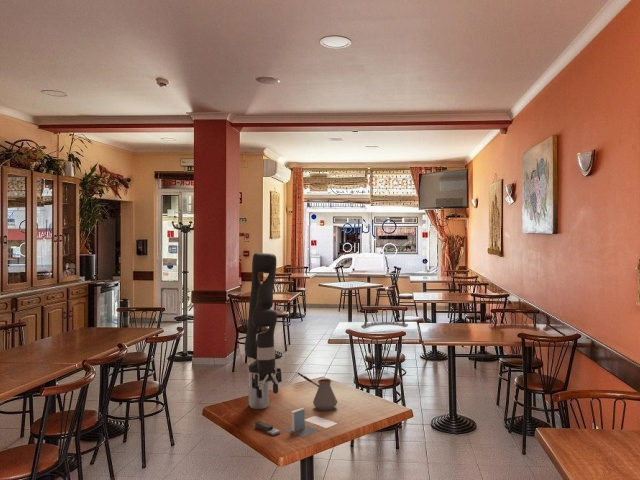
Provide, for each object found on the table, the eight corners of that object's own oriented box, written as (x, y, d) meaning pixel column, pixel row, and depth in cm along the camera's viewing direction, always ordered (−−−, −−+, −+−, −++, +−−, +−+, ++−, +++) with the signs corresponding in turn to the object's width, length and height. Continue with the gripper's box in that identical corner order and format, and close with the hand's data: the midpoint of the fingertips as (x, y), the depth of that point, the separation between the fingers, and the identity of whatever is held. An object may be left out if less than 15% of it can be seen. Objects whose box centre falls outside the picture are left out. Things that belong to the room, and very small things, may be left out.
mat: (283, 431, 217) (283, 429, 217) (300, 424, 224) (300, 423, 224) (302, 439, 208) (302, 437, 208) (320, 431, 215) (320, 430, 215)
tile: (291, 430, 216) (291, 411, 216) (302, 426, 220) (301, 407, 220) (294, 431, 215) (294, 412, 215) (305, 427, 219) (304, 408, 219)
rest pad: (303, 421, 228) (303, 420, 228) (315, 417, 233) (315, 415, 233) (326, 429, 218) (326, 428, 218) (337, 424, 223) (337, 423, 223)
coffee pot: (341, 406, 247) (340, 374, 246) (329, 413, 237) (328, 381, 236) (304, 399, 258) (303, 369, 257) (291, 406, 248) (290, 375, 248)
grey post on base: (253, 429, 220) (253, 422, 220) (261, 427, 223) (261, 420, 223) (273, 437, 211) (272, 430, 211) (280, 435, 213) (280, 427, 213)
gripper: (273, 353, 225) (274, 390, 225) (247, 359, 215) (248, 398, 215) (284, 355, 220) (286, 393, 220) (258, 361, 210) (259, 401, 210)
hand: (267, 395), depth 217 cm, fingers open, 8 cm apart
